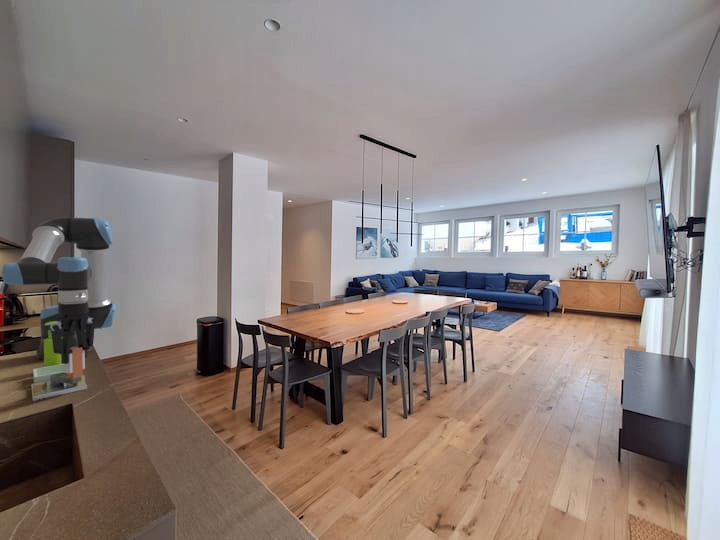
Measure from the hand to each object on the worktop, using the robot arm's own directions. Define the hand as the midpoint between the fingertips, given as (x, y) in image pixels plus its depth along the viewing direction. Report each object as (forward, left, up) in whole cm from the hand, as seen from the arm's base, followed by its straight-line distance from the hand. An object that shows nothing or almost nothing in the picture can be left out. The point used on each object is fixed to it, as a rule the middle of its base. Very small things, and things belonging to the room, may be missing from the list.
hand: (74, 370), depth 106 cm
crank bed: (-2, -7, -7) cm, 10 cm away
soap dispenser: (-21, -22, -7) cm, 31 cm away
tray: (-13, -15, -7) cm, 21 cm away
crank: (-1, -4, -5) cm, 7 cm away
